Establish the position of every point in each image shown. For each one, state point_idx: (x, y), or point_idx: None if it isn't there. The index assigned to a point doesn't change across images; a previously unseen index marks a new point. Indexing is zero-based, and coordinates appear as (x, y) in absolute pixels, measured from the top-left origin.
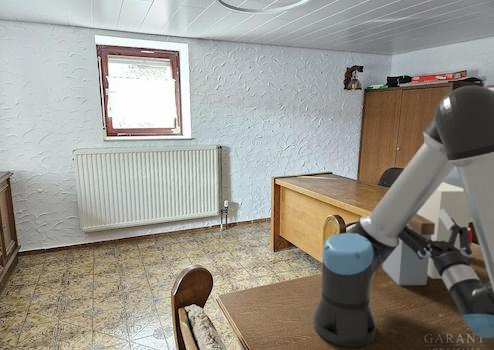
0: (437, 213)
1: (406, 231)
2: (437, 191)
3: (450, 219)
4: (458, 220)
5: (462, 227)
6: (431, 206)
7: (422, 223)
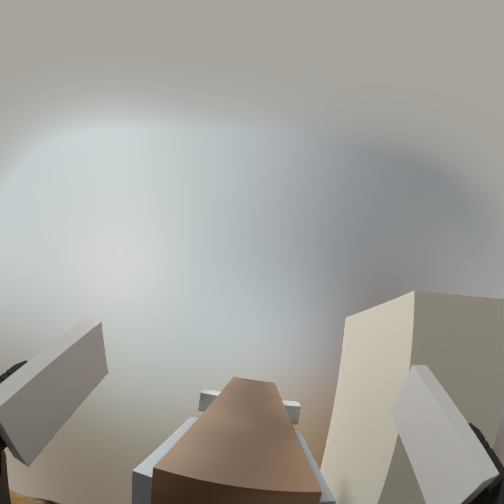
0: None
1: None
2: (399, 303)
3: (469, 434)
4: None
5: None
6: (377, 385)
7: (164, 471)
